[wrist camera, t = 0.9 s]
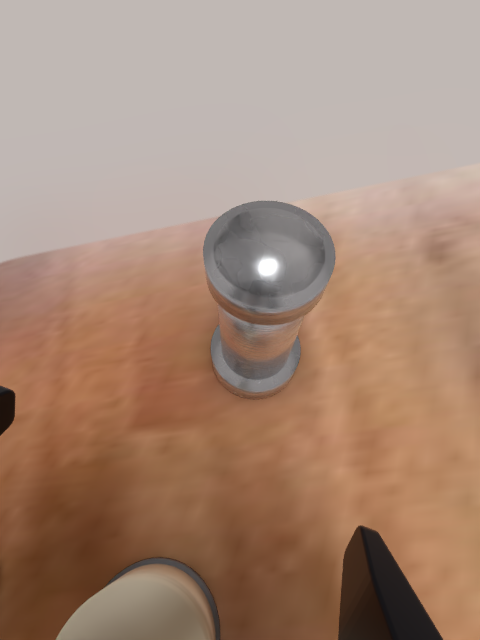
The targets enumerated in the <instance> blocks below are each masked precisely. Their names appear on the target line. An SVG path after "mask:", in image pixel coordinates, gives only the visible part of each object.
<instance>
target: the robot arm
mask: <svg viewBox="0 0 480 640" xmlns="http://www.w3.org/2000/svg"><path fill="white" fill-rule="evenodd" d="M14 417H15V393H14V391H13V390H11V389H8V388H5V387H3V386H0V436H1V435H2V433H3V432H4V431H5V430H6V429H7V428H8V427H9V426H10V425H11V424H12V422H13V420H14ZM338 640H443V638H442V637H441V635H440V633H439V632H438V630H437V628H436V627H435V625H434V623H433V622H432V620H431V619H430V617H429V615H428V614H427V612H426V610H425V609H424V607H423V605H422V604H421V602H420V600H419V599H418V597H417V595H416V594H415V592H414V590H413V589H412V587H411V585H410V584H409V582H408V581H407V579H406V577H405V576H404V574H403V572H402V571H401V569H400V567H399V566H398V564H397V562H396V561H395V559H394V557H393V556H392V554H391V552H390V551H389V549H388V547H387V546H386V544H385V543H384V541H383V539H382V538H381V536H380V534H379V533H378V532H377V531H375V530H372V529H370V528H367V527H365V526H358V527H357V528H356V530H355V532H354V534H353V536H352V538H351V540H350V542H349V544H348V546H347V548H346V551H345V554H344V559H343V573H342V588H341V603H340V617H339V635H338Z"/></svg>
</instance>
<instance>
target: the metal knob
mask: <svg viewBox="0 0 480 640" xmlns="http://www.w3.org/2000/svg"><path fill="white" fill-rule="evenodd" d="M203 257H204V265H205V273H206V280H207V284H208V288H209V290H210V292H211V294H212V296H213V298H214V299H215V301H216V302H217V303H218V313H219V325H218V326H217V328H216V330H215V332H214V334H213V337H212V340H211V356H212V362H213V368H214V371H215V374H216V376H217V378H218V380H219V381H220V383H221V384H222V385H223V386H224V387H225V388H226V389H227V390H229V391H230V392H231V393H233V394H235V395H237V396H240V397H242V398H247V399H263V398H267V397H270V396H273V395H275V394H277V393H278V392H280V391H281V390H282V389H283V388H285V386H286V385H287V384H288V383H289V381H290V380H291V378H292V376H293V374H294V372H295V370H296V367H297V365H298V363H299V359H300V342H299V338H298V335H297V334H298V331H299V329H300V326H301V324H302V321H303V318H304V316H305V315H306V314H307V313H308V312H310V311H311V310H312V309H313V308H314V307H315V306H316V305H317V303H318V302H319V301H320V299H321V297H322V295H323V293H324V291H325V288H326V286H327V284H328V281H329V279H330V277H331V275H332V272H333V269H334V265H335V248H334V244H333V241H332V239H331V236H330V235H329V233H328V231H327V230H326V228H325V227H324V226H323V225H322V224H321V223H320V222H319V220H317V219H316V218H315V217H314V216H313V215H311V214H309V213H308V212H306V211H305V210H303V209H301V208H299V207H296V206H293V205H290V204H287V203H283V202H277V201H256V202H250V203H246V204H242V205H240V206H237V207H235V208H232V209H231V210H229V211H227V212H226V213H224V214H223V215H222V216H220V217H219V218H218V219H217V220H216V221H215V222H214V223H213V225H212V226H211V228H210V229H209V231H208V233H207V235H206V238H205V241H204V247H203Z"/></svg>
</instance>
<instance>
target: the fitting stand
mask: <svg viewBox="0 0 480 640" xmlns="http://www.w3.org/2000/svg"><path fill="white" fill-rule="evenodd" d="M56 640H220V623H219V616H218V612H217V607H216V604H215V602H214V599H213V596H212V594H211V592H210V590H209V588H208V587H207V585H206V584H205V582H204V580H203V579H202V578H201V577H200V576H199V575H198V574H197V573H196V572H195V571H194V570H193V569H192V568H190V567H189V566H187V565H186V564H184V563H182V562H180V561H177V560H174V559H170V558H162V557H158V558H149V559H145V560H142V561H139V562H136V563H134V564H133V565H131V566H129V567H127V568H126V569H124V570H123V571H121V572H120V573H118V574H117V575H116V576H115V577H114V578H113V579H112V580H111V581H109V583H108V584H107V585H106V586H105V587H104V588H103V589H102V590H101V591H99V592H98V593H96V594H95V595H93V596H92V597H91V598H89V599H88V600H87V601H86V602H84V603H83V604H82V605H81V606H80V607H79V608H78V609H77V610H76V611H75V612H74V614H73V615H72V616H71V617H70V618H69V620H68V621H67V622H66V624H65V625H64V627H63V628H62V630H61V631H60V633H59V635H58V636H57V638H56Z"/></svg>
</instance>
